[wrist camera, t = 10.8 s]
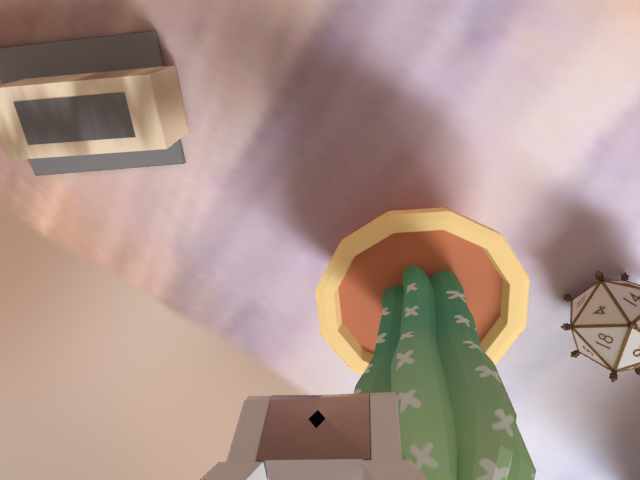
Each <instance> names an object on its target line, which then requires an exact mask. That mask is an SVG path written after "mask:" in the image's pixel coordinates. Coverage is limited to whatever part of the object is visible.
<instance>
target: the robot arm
mask: <svg viewBox="0 0 640 480" xmlns="http://www.w3.org/2000/svg"><path fill="white" fill-rule="evenodd" d="M200 480H427V478H426V477H425V476H424V475H423V474H422V473H421V472H420V470H419V469H418V468H417V467H416V466H415V465H414V464H413V462H412V461H411V460H402V449H401V438H400V426H399V415H398V403H397V395H396V393H395V392H382V393H365V394H337V395H273V396H248V397H247V398H246V400H245V401H244V403H243V407H242V410H241V414H240V417H239V420H238V424H237V427H236V430H235V434H234V437H233V441H232V444H231V447H230V450H229V454H228V457H227V461H226V462H218V463H217V464H216V465H215V466H214V467H213V468H212V469H211V470H210V471H209V472H208V473H207V474H206V475H204V476H203V477H202V478H201V479H200Z"/></svg>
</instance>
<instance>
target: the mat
mask: <svg viewBox="0 0 640 480" xmlns="http://www.w3.org/2000/svg"><path fill="white" fill-rule="evenodd" d="M162 66H164V64H163V59H162V55H161V51H160V46H159V42H158V37H157V33H156V31H148V32H139V33H130V34H121V35H113V36H104V37H95V38H86V39H77V40H69V41H60V42H51V43H42V44H33V45H25V46H16V47H7V48H0V80H1V83H2V84H6V83H10V82H14V81H19V80H23V79H29V78H40V77H51V76H62V75H73V74H85V73H96V72H107V71H118V70H129V69H140V68H151V67H162ZM29 160H30V162H31V165H32V168H33V171H34V173H35V176H39V175H51V174H64V173H76V172H88V171H101V170H113V169H125V168H138V167H150V166H163V165H175V164H184V163H185V162H186V161H185V157H184V152H183V148H182V143H181V139H179V140H178V141H177V142H175V143H174V144H173V145H171V146H170V147H169V148H167V149H161V150H147V151H133V152H119V153H105V154H91V155H77V156H63V157H49V158H35V159H29Z"/></svg>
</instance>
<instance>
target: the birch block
mask: <svg viewBox="0 0 640 480" xmlns="http://www.w3.org/2000/svg"><path fill="white" fill-rule="evenodd" d="M188 132H189V129H188V124H187V119H186V114H185V109H184V104H183V99H182V95H181V90H180V85H179V80H178V75H177V70H176V65H173V66H162V67H151V68H140V69H129V70H118V71H107V72H96V73H85V74H73V75H62V76H51V77H40V78H29V79H23V80H19V81H14V82H10V83H6V84H2V85H0V141H1V144H2V147H3V149H4V152H5V155H6V157H7V160H21V159H35V158H49V157H63V156H77V155H91V154H105V153H119V152H133V151H147V150H161V149H167V148H169V147H170V146H171V145H173V144H174V143H175V142H177V141H178V140H179V139H181V138H182V137H183V136H184V135H186V134H187V133H188Z"/></svg>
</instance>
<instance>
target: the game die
mask: <svg viewBox="0 0 640 480" xmlns="http://www.w3.org/2000/svg"><path fill="white" fill-rule="evenodd" d="M595 276H596V279H598V280H599V281H598V282H596V283H595V284H594V285H592V286H591V287H589V288H588V289H586V290H585V291H583V292H582V293H581V294H579V295H578V296H576V297H575V298H572V297H571V296H569V295H563V297H564V299H565V300H567V301H570V302H571V321H570V324H568V323H567V324H565V323H564V325H563V326H561V328H563V329H564V330H565V331H566V330H570V329H571V331H572V334H573V337H574V340H575V344H576V347H577V350H575V351H574V352H571V357H576V358H577V356H579V354H580V353H581V354H583V355H584V356H586V357H588V358H590V359H591V360H593V361H595V362H597V363H598V364H600V365H602V366H604V367H605V368H607V369H609V370H611V374H610V377H609V378H610V379H611V380H612V382H615V381H616V380H617V377H618V376H617V374H616V373H617V372H621V371H625V370H630V369H635V372H636V374H638V375H640V285H638V284H635V283H632V282H628V281H627V280H628V277H629V276H628V275H627V274H626V273H624V274H622V275H621V280H605V279H603V275H602V273H601V272H599V271H597V272H596V275H595Z"/></svg>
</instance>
